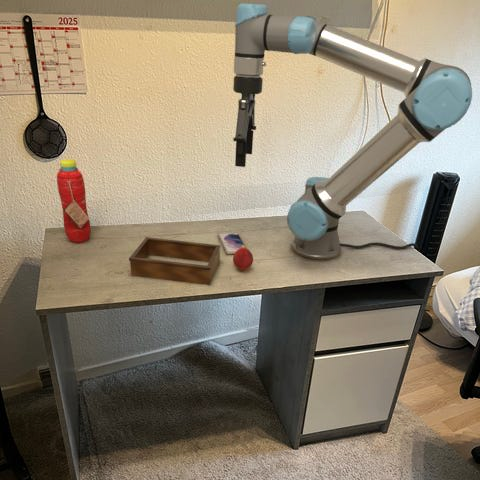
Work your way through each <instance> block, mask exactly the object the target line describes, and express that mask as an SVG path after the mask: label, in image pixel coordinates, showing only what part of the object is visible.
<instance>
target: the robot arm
mask: <svg viewBox="0 0 480 480" xmlns="http://www.w3.org/2000/svg"><path fill="white" fill-rule="evenodd" d="M234 27H235V35H234V39H235V40H234V56H233V57H234V59H233V73H234V74H235V75H234V77H233V84H232V85H233V87H232V89H233V92H234V93H237V94H241V96H240V97H241V98H239V99H238V102H237V103H238V106H237V107H238V109H237V118H236V128H235V136H234V137H233V140H232V141H233V142H235V158H234V159H235V161H234V166H235V167H239V168H240V167H241V168H246V164H247V163H246V162H247V155H252V154H253V146H254V145H253V144H254V131H256V130H257V125H256V123H255V122H256V121H255V117H256V115H255V112H256V110H255V108H256V107H255V106H256V95H260V94H261V93H262V92H263V83H264V82H263V81H264V78H263V77H262V76H263V74H264V67H266V66H267V62H266V61H264V60H265V52H279V53H288V54H294V55H301V54H302V55H311V56H314V57H317V58H319V59H322V60H324V61H326V62H329V63H332V64H333V65H336V66H338V67H340V68H343V69H346V70H349V71H351V72H352V73H356V74H358V75H360V76H363V77H365V78H367V79H370V80H372V81H375V82H376V83H379V84H381V85H384V86H387V87H388V88H391V89H394V90H396V91H399V92H401V93H403V95H404V97H405V98H404V99H403V100H402V101H401V102H400V103H399V104H398V106H397V114H396V115H394V117H393V118H392V119H391V120H389V122H387V124H386V125H384V126H383V127H382V128H381V129H380V130H379V131H378V132H377V133H376V134H375V135H374V136H372V137H371V139H369V141H367V142H366V143H365V144H364V145H363V146H362V147H361V148H360V149H359V150H357V152H355V153H354V154H353V155H352V156H351V157H350V158H349V159H348V160H347V161H346V162H344V163H343V164H342V166H340V168H338V170H336V171H335V172H334V173H333V174H332V175H331V176H330V177H324V176H312V177H308V178H307V179H306V182H305V185H304V187H305V188H304V193H303V194H302V195H301V196H300V197H299V198H298V199H297V200H296V201H295V202H293V204H292V205H291V206H290V208H289V210H288V212H287V216H286V222H287V223H286V224H287V226H288V229H289V231H290V232H291V233H292V234H293V236H294V238H293V240H292V241H291V245H292V246H291V248H292V251H293V252H294V253H295V254H297V255H298V256H300V257H302V258H305V259H309V260H315V261H327V260H333V259H335V258H337V257H338V256H339V255H340V250H341V247H343V248H352V249H364V248H367V247H371V246H380V247H386V248H389V249H394V250H404V249H407V248H410V247H414V248H416V249H418V248H419V246H418V244H416V243H414V242H411V243H408V244H406V245H392V244H388V243H384V242H368V243H365V244H362V245H354V244H348V243H340V236H339V231H338V229H339V224H340V219H341V218H342V217H343V216H345V215H346V212H347V206H348V205H349V204H350V203H351V202H352V201H353V200H354V199H356V198H357V197H358V196H359V195H360V194H362V193H363V192H364V191H365V190H366V189H368V187H370V186H371V185H372V184H373V183H375V182H376V181H377V180H378V179H379V178H380V177H381V176H383V175H384V174H385V173H386V172H387V171H388V170H389V169H390V168H392V167H393V166H395V165H396V163H397V162H399V161H401V159H402V158H404V157H405V156H406V155H407V154H408V153H409V152H410V151H412V150H413V148H415V147H416V146H418V145H419V144H420V143H430V142H432V141H433V140H434V139H435V138H437V137H438V136H439V135H440V134H441V133H443V132H444V131H445V130H446V129H448V128H451V127H452V126H455V125H457V124H458V123H459V122H460V121H461V120H462V119H463V118H464V116H465V115H466V114H467V113H468V110H469V109H470V106H471V104H472V101H473V86H472V82H471V79H470V76H469V75H468V74H467V73H466V71H465V70H463V69H462V68H460V67H458V66H454V65H450V64H444V63H440V62H437V61H434V60H432V59H428V58H423V59H421V60H418V59H415V58H413V57H410V56H407V55H405V54H403V53H400V52H398V51H395V50H392V49H390V48H388V47H385V46H383V45H380V44H377V43H375V42H373V41H370V40H368V39H365V38H362V37H360V36H358V35H355V34H353V33H350V32H347V31H345V30H342V29H341V28H338V27H335V26H332V25H330V24H327V23H325V22H321V20H320V21H319V20H318V19H317V18H315V17H313V16H310V15H302V16H301V15H300V16H297V15H294V16H293V15H273V14H269V11H268V6H267V4H259V3H257V4H255V3H240V4H238V6H237V8H236V18H235V24H234Z"/></svg>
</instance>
